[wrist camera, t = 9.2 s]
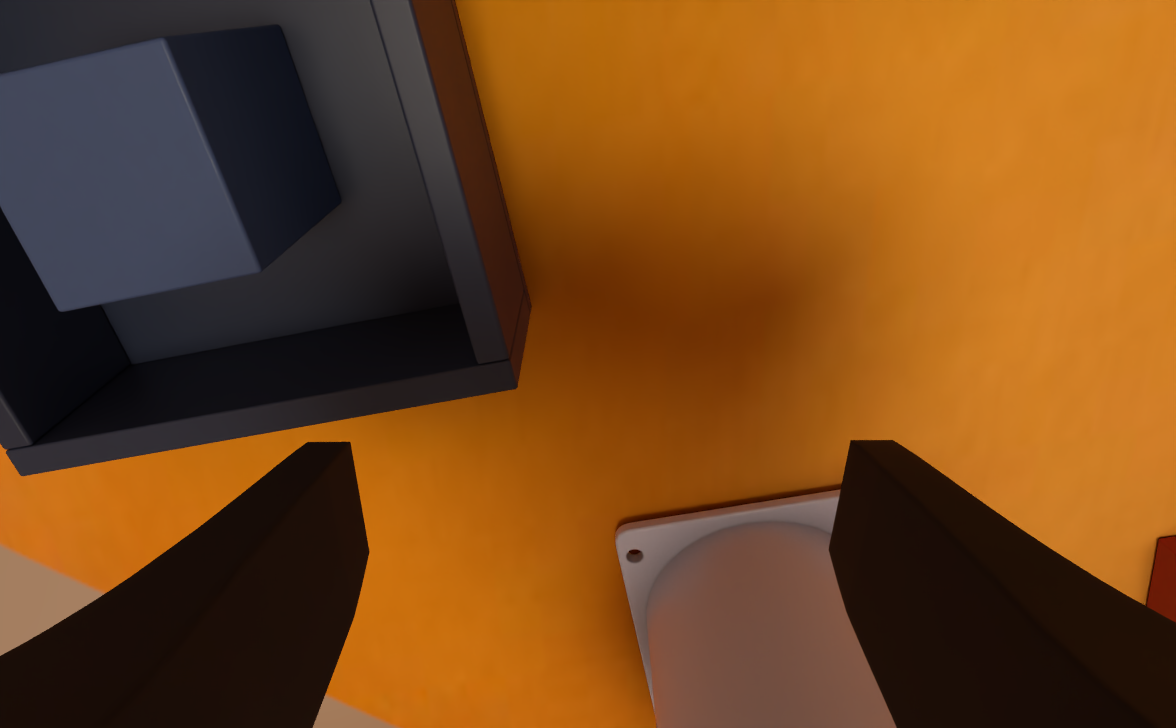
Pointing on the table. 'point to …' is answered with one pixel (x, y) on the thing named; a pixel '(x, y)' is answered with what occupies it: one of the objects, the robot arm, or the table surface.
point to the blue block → (160, 164)
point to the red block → (1164, 579)
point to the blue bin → (303, 272)
